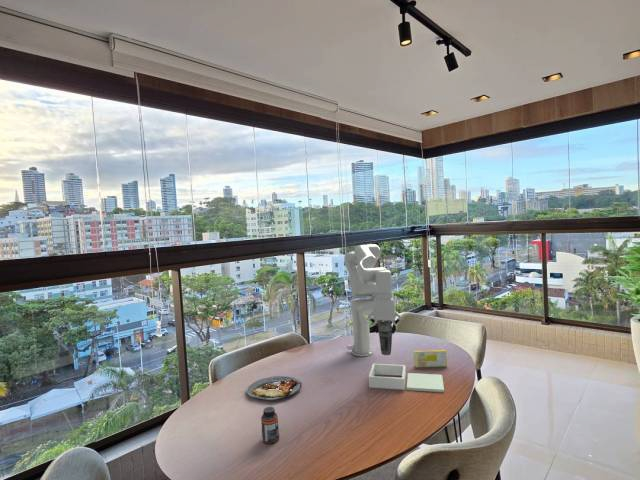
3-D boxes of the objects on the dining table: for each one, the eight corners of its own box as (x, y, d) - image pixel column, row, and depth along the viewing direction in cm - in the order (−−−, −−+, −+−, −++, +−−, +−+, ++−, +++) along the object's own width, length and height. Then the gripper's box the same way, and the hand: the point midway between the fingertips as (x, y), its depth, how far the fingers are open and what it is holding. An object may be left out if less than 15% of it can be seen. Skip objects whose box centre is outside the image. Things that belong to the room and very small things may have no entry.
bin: (369, 387, 168) (368, 376, 167) (373, 373, 183) (373, 363, 183) (404, 389, 163) (404, 378, 163) (405, 375, 179) (405, 365, 178)
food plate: (309, 383, 175) (309, 376, 175) (285, 407, 154) (284, 399, 154) (266, 378, 185) (265, 371, 185) (237, 399, 164) (237, 392, 164)
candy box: (446, 365, 188) (445, 349, 188) (447, 367, 186) (446, 351, 186) (414, 365, 190) (413, 350, 190) (415, 367, 188) (414, 351, 187)
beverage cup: (394, 351, 176) (393, 310, 174) (392, 357, 169) (391, 314, 168) (379, 350, 178) (378, 310, 177) (377, 355, 171) (375, 314, 170)
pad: (406, 389, 163) (406, 387, 163) (408, 375, 178) (407, 372, 178) (444, 392, 159) (444, 389, 159) (442, 377, 174) (442, 374, 174)
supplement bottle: (263, 435, 133) (261, 405, 133) (279, 434, 133) (277, 404, 133) (261, 445, 127) (259, 414, 127) (278, 443, 128) (277, 412, 127)
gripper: (364, 297, 170) (366, 334, 172) (402, 297, 166) (403, 335, 167) (366, 294, 178) (368, 329, 179) (403, 294, 173) (404, 330, 174)
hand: (385, 332), depth 173 cm, fingers closed on beverage cup, 7 cm apart
